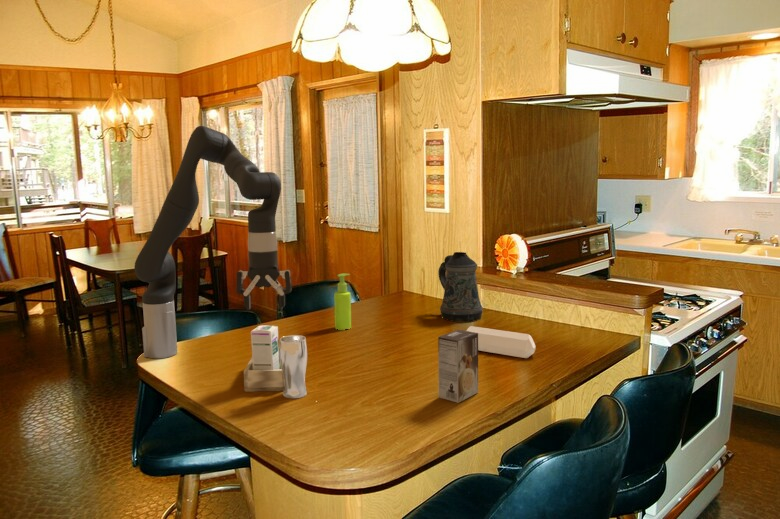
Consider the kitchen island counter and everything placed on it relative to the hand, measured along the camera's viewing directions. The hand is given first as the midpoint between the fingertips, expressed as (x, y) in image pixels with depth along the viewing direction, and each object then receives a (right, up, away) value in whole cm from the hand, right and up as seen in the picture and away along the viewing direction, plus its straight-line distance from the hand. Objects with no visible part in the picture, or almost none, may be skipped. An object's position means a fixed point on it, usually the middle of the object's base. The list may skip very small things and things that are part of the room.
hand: (265, 308), depth 161 cm
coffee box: (+51, -22, -7) cm, 56 cm away
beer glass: (+9, -22, -5) cm, 24 cm away
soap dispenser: (+17, -12, +60) cm, 63 cm away
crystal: (+68, -16, +30) cm, 76 cm away
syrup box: (0, -20, +3) cm, 20 cm away
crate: (0, -20, +8) cm, 21 cm away
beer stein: (+60, -9, +75) cm, 96 cm away
